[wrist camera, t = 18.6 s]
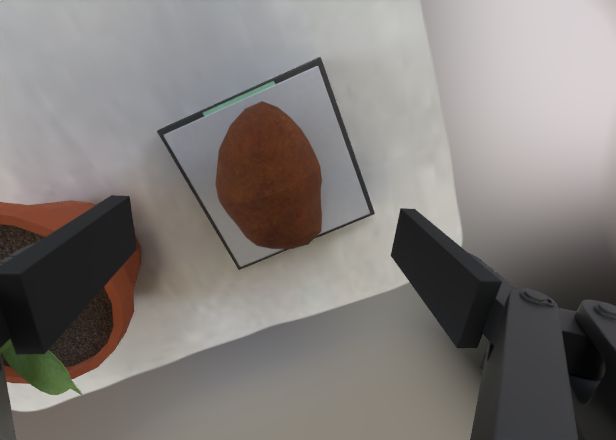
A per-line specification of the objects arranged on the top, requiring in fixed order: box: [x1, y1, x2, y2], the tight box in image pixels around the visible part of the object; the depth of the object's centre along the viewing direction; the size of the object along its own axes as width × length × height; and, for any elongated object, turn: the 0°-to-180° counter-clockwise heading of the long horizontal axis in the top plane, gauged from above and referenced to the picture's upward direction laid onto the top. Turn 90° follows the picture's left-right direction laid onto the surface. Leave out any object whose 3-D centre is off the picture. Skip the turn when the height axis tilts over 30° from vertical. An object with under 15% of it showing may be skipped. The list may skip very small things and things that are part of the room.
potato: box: [215, 101, 322, 249], centre depth 22 cm, size 8×12×8 cm, turn 17°
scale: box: [157, 57, 375, 270], centre depth 27 cm, size 14×14×3 cm
